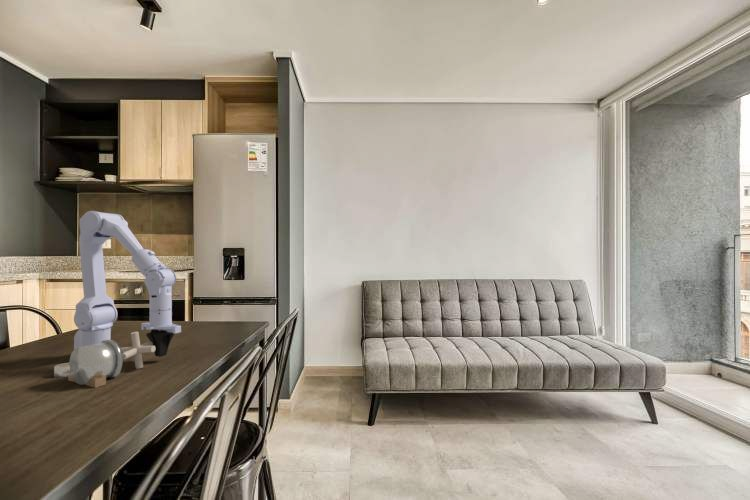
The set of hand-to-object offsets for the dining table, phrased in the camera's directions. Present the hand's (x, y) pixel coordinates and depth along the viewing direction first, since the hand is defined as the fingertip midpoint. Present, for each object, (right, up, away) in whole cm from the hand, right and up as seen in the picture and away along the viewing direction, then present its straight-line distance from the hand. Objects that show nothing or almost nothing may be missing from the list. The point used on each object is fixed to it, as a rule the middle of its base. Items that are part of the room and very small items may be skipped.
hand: (160, 355), depth 108 cm
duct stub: (-7, -1, -16) cm, 18 cm away
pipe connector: (-3, -2, -6) cm, 7 cm away
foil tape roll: (-18, -1, -12) cm, 22 cm away
